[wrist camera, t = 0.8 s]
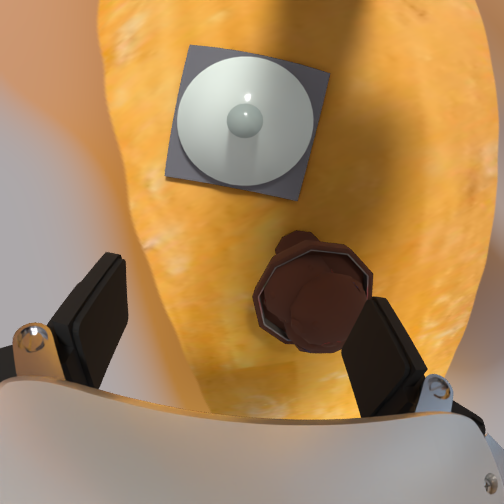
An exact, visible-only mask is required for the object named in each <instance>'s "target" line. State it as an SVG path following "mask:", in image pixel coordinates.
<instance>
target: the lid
mask: <svg viewBox="0 0 504 504" xmlns="http://www.w3.org/2000/svg"><path fill="white" fill-rule="evenodd" d="M177 128H178V134H179V138H180V141H181V144H182V146H183V149H184V151H185V152H186V154H187V156H188V157H189V159H190V160H191V161H192V162H193V163H194V165H196V166H197V167H198V168H199V169H200V170H201V171H202V172H204V173H205V174H207V175H208V176H210V177H212V178H214V179H216V180H218V181H221V182H224V183H228V184H231V185H239V186H250V185H258V184H262V183H266V182H269V181H272V180H274V179H276V178H278V177H280V176H282V175H283V174H285V173H286V172H288V171H289V170H290V169H291V168H292V167H293V166H295V165H296V163H297V162H298V161H299V160H300V159H301V157H302V156H303V154H304V153H305V151H306V149H307V147H308V145H309V142H310V139H311V136H312V131H313V110H312V106H311V102H310V99H309V97H308V94H307V93H306V91H305V89H304V87H303V86H302V84H301V83H300V82H299V80H298V79H297V78H296V77H295V76H294V75H293V74H292V73H290V72H289V71H288V70H287V69H285V68H284V67H282V66H280V65H278V64H277V63H274V62H272V61H269V60H266V59H262V58H257V57H234V58H229V59H225V60H222V61H220V62H217V63H215V64H213V65H211V66H209V67H207V68H206V69H205V70H203V71H202V72H201V73H199V74H198V75H197V76H196V77H195V78H194V79H193V81H192V82H191V83H190V84H189V86H188V87H187V89H186V91H185V92H184V94H183V97H182V99H181V101H180V105H179V109H178V116H177Z"/></svg>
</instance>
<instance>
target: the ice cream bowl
mask: <svg viewBox="0 0 504 504" xmlns="http://www.w3.org/2000/svg"><path fill="white" fill-rule="evenodd" d="M275 252H276V255H275V256H273V257H272V259H271V261H270V262H269V264H268V266H267V268H266V269H265V271H264V273H263V275H262V276H261V278H260V280H259V282H258V283H257V285H256V287H255V290H254V293H253V296H252V297H253V301H254V306H255V310H256V314H257V318H258V323H259V327H261V328H262V329H264V330H265V331H267V332H268V333H270V334H271V335H273V336H274V337H276V338H277V339H279V340H280V341H282V342H283V343H285V344H295V345H296V347H297V348H298V349H299V350H300V351H302V352H309V353H334V352H336V351H338V350H341V349H342V347H343V345H344V343H345V341H346V339H347V338H348V336H349V334H350V332H351V330H352V328H353V326H354V324H355V322H356V320H357V318H358V316H359V314H360V312H361V310H362V308H363V306H364V304H365V302H366V301H367V300H370V298H371V297H372V286H373V273H372V272H371V271H370V270H369V269H368V267H367V266H366V265H365V264H364V263H363V262H362V261H361V260H360V259H359V257H358V256H357V255H356V254H355V253H354V252H353V251H352V250H351V249H350V248H348V247H347V246H345V245H344V244H336V243H328V242H320V241H319V240H318V239H317V238H316V237H315V236H314V235H313V234H312V233H311V232H305V231H297V230H296V231H294V232H292V233H290V234H288V235H286V236H284V237H282V239H281V241H280V242H279V244H278V246H277V248H276V249H275Z"/></svg>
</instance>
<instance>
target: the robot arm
mask: <svg viewBox="0 0 504 504" xmlns="http://www.w3.org/2000/svg"><path fill="white" fill-rule="evenodd" d="M126 287H127V286H126V261H125V260H124V259H122V257H121V255H119V254H114V253H109V252H106V253H105V254H104V255H103V256H102V257H101V258H100V260H99V261H98V262H97V263H96V264H95V265H94V267H93V268H92V269H91V270H90V272H89V273H88V274H87V275H86V276H85V278H84V279H83V280H82V281H81V282H80V283H78V284H77V285H76V287H75V288H74V289H73V290H72V292H71V293H70V294H69V296H68V297H67V298H66V300H65V301H64V302H63V304H62V305H61V306H60V307H59V309H58V310H57V312H56V313H55V314H54V316H53V317H52V318H51V320H50V321H49V323H48V324H47V325H44V324H42V323H36V322H35V323H28V324H26V325H23V326H22V327H20V328H19V329H18V330H17V331H16V332H15V334H14V336H13V342H12V343H13V345H10V346H7V347H3V348H0V504H504V449H503V448H502V447H501V446H500V445H499V444H498V443H497V442H496V441H495V440H494V439H493V438H492V437H491V436H490V435H489V434H488V433H487V434H486V435H485V425H484V422H483V420H482V419H481V418H480V417H479V416H477V415H476V414H474V413H473V412H471V411H469V410H468V409H466V408H465V407H463V406H461V405H459V404H458V403H456V402H455V401H453V389H452V387H451V385H450V383H448V381H447V380H446V379H445V378H443V377H442V376H440V375H437V374H430V375H428V376H427V377H426V378H425V376H424V373H425V372H426V371H427V367H426V365H425V363H424V361H423V360H422V358H421V356H420V354H419V352H418V351H417V349H416V347H415V345H414V344H413V342H412V340H411V338H410V337H409V335H408V333H407V332H406V330H405V328H404V327H403V325H402V323H401V322H400V320H399V318H398V317H397V315H396V313H395V312H394V310H393V309H392V307H391V305H390V304H389V302H388V301H387V299H386V298H382V297H374V296H373V297H371V298H370V300H367V301H366V302H365V304H364V306H363V308H362V310H361V312H360V314H359V316H358V318H357V320H356V322H355V324H354V326H353V328H352V330H351V332H350V334H349V336H348V338H347V339H346V341H345V343H344V345H343V347H342V351H341V354H342V358H343V361H344V364H345V367H346V370H347V373H348V376H349V379H350V382H351V386H352V389H353V392H354V395H355V398H356V402H357V405H358V408H359V412H360V415H361V418H352V419H329V420H289V419H266V418H251V417H240V416H230V415H221V414H213V413H205V412H199V411H193V410H186V409H180V408H175V407H170V406H165V405H160V404H155V403H151V402H146V401H142V400H138V399H133V398H128V397H125V396H121V395H117V394H113V393H110V392H106V391H103V390H99V387H100V385H101V382H102V380H103V377H104V375H105V373H106V370H107V368H108V365H109V363H110V360H111V358H112V356H113V354H114V352H115V349H116V347H117V345H118V343H119V340H120V338H121V336H122V333H123V332H124V329H125V327H126V325H127V322H128V304H127V288H126Z"/></svg>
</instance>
